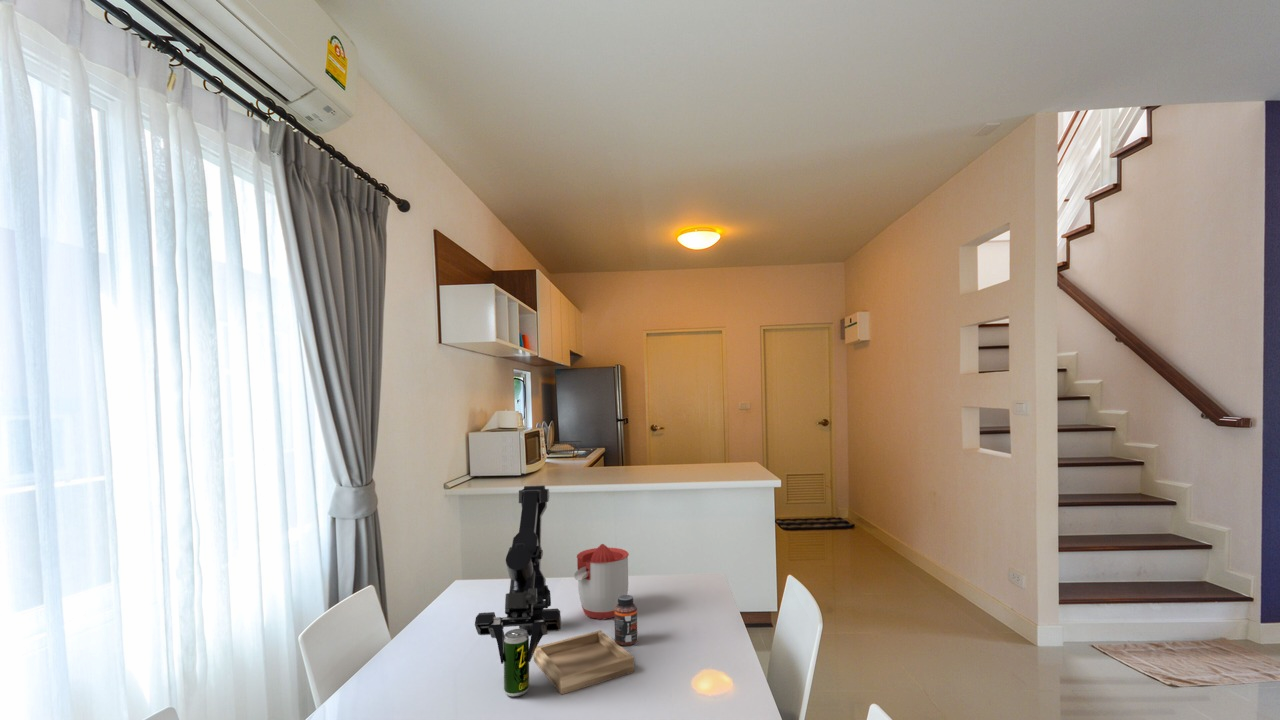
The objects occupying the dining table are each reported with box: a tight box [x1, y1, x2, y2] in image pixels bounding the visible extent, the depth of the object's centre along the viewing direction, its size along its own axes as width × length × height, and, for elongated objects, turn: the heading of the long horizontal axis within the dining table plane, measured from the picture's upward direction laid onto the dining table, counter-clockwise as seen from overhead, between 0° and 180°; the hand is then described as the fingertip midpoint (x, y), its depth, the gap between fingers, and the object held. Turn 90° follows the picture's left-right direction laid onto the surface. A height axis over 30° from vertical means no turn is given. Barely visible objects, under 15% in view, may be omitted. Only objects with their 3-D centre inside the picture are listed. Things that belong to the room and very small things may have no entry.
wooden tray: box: [533, 630, 635, 695], centre depth 128 cm, size 18×18×3 cm
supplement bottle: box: [613, 594, 638, 647], centre depth 141 cm, size 6×6×11 cm
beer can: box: [503, 628, 530, 697], centre depth 118 cm, size 5×5×12 cm
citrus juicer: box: [573, 543, 630, 621], centre depth 161 cm, size 16×17×20 cm
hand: (515, 662), depth 117 cm, fingers closed on beer can, 5 cm apart
